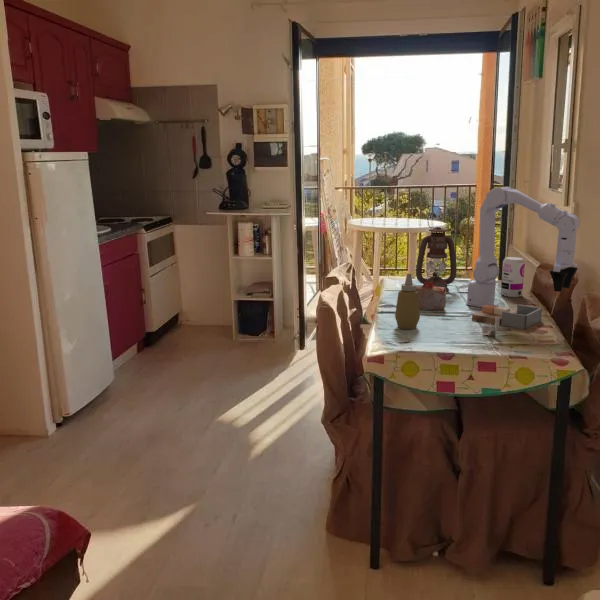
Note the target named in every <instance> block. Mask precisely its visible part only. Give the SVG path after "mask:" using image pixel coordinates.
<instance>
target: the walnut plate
mask: <svg viewBox="0 0 600 600" xmlns="http://www.w3.org/2000/svg"><path fill="white" fill-rule="evenodd" d="M515 312H517V309H510V313H515ZM495 316H496V317H498V318H499V326H502V325H501V320H502V315H498V314H494V313H493V314H492V313H486V312H482V309H481V310H479V311H477V312H475V313H472V314H471V321H474V320H476V322H480V321H482V322H481V323H485V322H487V323H488V324H490V323H492V324H491V325H495Z"/></svg>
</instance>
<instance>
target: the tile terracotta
mask: <svg viewBox="0 0 600 600" xmlns="http://www.w3.org/2000/svg"><path fill="white" fill-rule="evenodd" d="M498 306H499V305H490V304H487V305H484V306H482V307H481V308H482V309H481V310H482V312H486V313H492V314H493V313H494V308H496V307H498Z"/></svg>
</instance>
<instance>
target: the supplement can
mask: <svg viewBox="0 0 600 600" xmlns="http://www.w3.org/2000/svg"><path fill="white" fill-rule="evenodd" d="M525 267H526V262H525V258H523V257H520V256H506V257H504V259H503V261H502V273H501V282H500V283H501V286H500V294H501V295H502V296H503V295H504V297H506V296H508V298H520V297H521V296H522V295H523V292H524V291H523V290H524V277H525ZM519 296H520V297H519Z"/></svg>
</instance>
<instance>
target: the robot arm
mask: <svg viewBox="0 0 600 600" xmlns="http://www.w3.org/2000/svg"><path fill="white" fill-rule="evenodd" d="M485 195H486V196H485V199H484V200H483V202H482V204H481V206H480V209H479V255H478V257H477V259H476V261H475V267H474V268H473V271H472V276H473V279H474V280H471V281H469V282H468V283H469V284H468V286H467V296H466V297H467V298H466V303H465V305H468V306H473V307H479V308H482V306H484V305H487V304H490V305H496V306H499V303H496V302H495V299H496V298H495V297H496V285H497V283H496V282H497V281H496V278H498V276H499V275H500V267H499V266H498V259H497V257H496V256H495V250H496V249H495V248H496V247H495V244H496V214H497V212H499V211H500V210H501V209H502V208H503V207H505V206H507V205H510V204H516V205H520V206H522V207H524V208H526V209H529V210H531V211H533V212H535V213H537V215H538V219H540V220H542V221H544V222H546V223H548V224H550V225H552V226H553V227H556V229H557V231H558V233H557V242H556V243H557V244H556V254H555V261H554V265H553V269H550V270H549V274H550V276H551V278H552V283H553V285H552V286H553V291H554V292H559V293H561V292H562V291H563V288H564V289H570V287H571V284H572V281H573V279H574V276H575V274H576V272H577V271H578V267H577V266H578V264H577V263H575V262H576V261H575V253H576V252H575V251H576V244H577V232H578V228H579V227H580V226H581V225H580V224H581V220H580V218H579V217H578V215H576V214H575V213H569V211H568V210H562V209H561V208H559V207H557V206H556V203H553V202H551V203H549V202H548V203H547V202H546V203H545V204H542V203H541V202H539V201H537V200H536V199H534V198H532V197H530V196H529V195H527V194H526V193H523V192H521V191H520V190H519V189H516V188H513V187H512V186H503V187H502V186H501V187H494V188H492V189H490V191H488V192H487V193H486V194H485Z"/></svg>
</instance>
